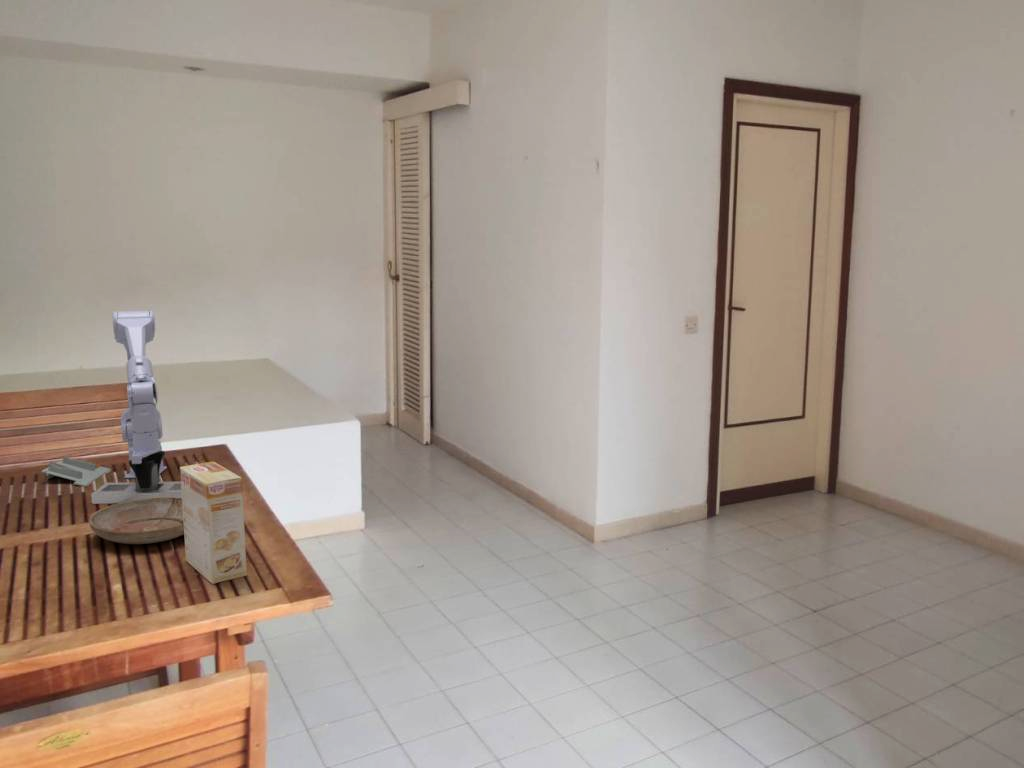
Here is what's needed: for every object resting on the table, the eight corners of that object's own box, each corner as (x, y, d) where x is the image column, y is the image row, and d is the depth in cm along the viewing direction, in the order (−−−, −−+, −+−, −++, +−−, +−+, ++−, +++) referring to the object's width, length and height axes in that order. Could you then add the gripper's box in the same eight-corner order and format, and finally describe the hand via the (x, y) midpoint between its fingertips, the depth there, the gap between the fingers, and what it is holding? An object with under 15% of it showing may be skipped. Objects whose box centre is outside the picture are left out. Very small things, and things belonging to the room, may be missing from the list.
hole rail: (107, 492, 210) (106, 482, 210) (205, 490, 212) (204, 481, 212) (92, 503, 202) (91, 493, 201) (194, 501, 203) (194, 491, 203)
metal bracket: (35, 465, 214) (64, 450, 229) (30, 487, 215) (60, 470, 230) (91, 480, 215) (116, 464, 230) (86, 501, 216) (112, 484, 231)
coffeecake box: (248, 575, 160) (243, 477, 157) (211, 585, 156) (204, 484, 152) (220, 552, 172) (214, 460, 168) (184, 560, 167) (178, 466, 164)
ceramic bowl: (147, 562, 167) (145, 538, 166) (65, 543, 177) (63, 520, 176) (231, 526, 187) (230, 504, 187) (154, 511, 197) (153, 490, 196)
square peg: (142, 494, 209) (140, 463, 207) (158, 494, 209) (157, 463, 207) (136, 499, 205) (134, 467, 203) (153, 499, 205) (151, 467, 204)
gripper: (138, 423, 211) (142, 476, 213) (116, 438, 196) (121, 493, 199) (167, 423, 211) (171, 475, 214) (147, 437, 197) (151, 493, 199)
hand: (149, 484), depth 206 cm, fingers open, 5 cm apart
